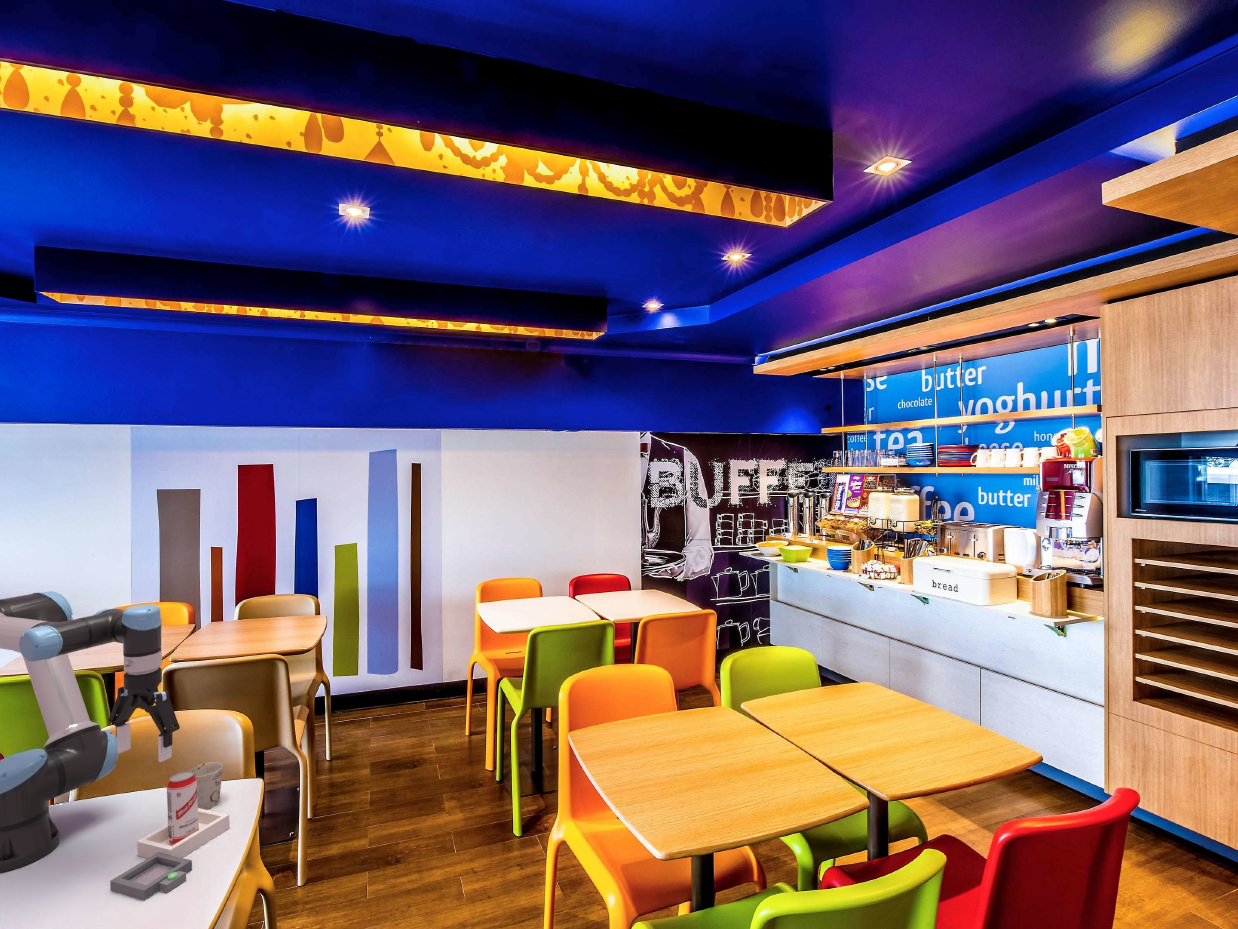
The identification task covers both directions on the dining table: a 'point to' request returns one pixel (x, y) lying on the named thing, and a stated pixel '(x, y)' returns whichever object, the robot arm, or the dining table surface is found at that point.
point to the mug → (208, 784)
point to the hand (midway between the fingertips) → (144, 755)
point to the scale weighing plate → (151, 874)
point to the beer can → (182, 806)
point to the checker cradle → (160, 884)
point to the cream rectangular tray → (208, 829)
